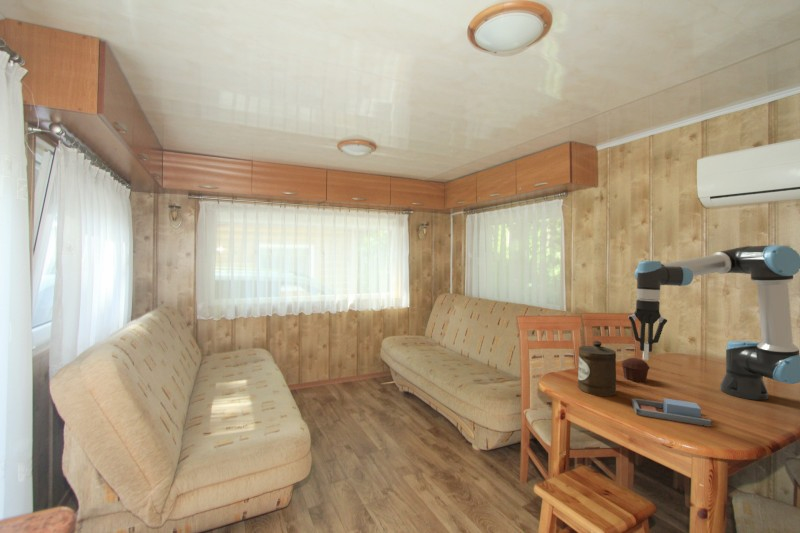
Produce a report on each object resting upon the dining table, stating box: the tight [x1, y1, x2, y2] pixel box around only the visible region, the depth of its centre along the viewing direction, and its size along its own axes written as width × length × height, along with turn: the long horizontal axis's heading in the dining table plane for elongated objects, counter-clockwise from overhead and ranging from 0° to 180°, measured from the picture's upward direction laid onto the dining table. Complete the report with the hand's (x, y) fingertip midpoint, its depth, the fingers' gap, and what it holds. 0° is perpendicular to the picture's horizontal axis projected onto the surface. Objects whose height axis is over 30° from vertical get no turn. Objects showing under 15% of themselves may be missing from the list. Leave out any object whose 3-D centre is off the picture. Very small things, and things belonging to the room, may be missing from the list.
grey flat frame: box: [631, 397, 712, 427], centre depth 136 cm, size 22×12×2 cm, turn 65°
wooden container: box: [577, 340, 617, 397], centre depth 160 cm, size 15×15×22 cm
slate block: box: [662, 397, 702, 418], centre depth 134 cm, size 10×6×5 cm, turn 64°
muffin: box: [621, 357, 650, 383], centre depth 175 cm, size 12×11×10 cm
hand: (645, 359), depth 141 cm, fingers closed
